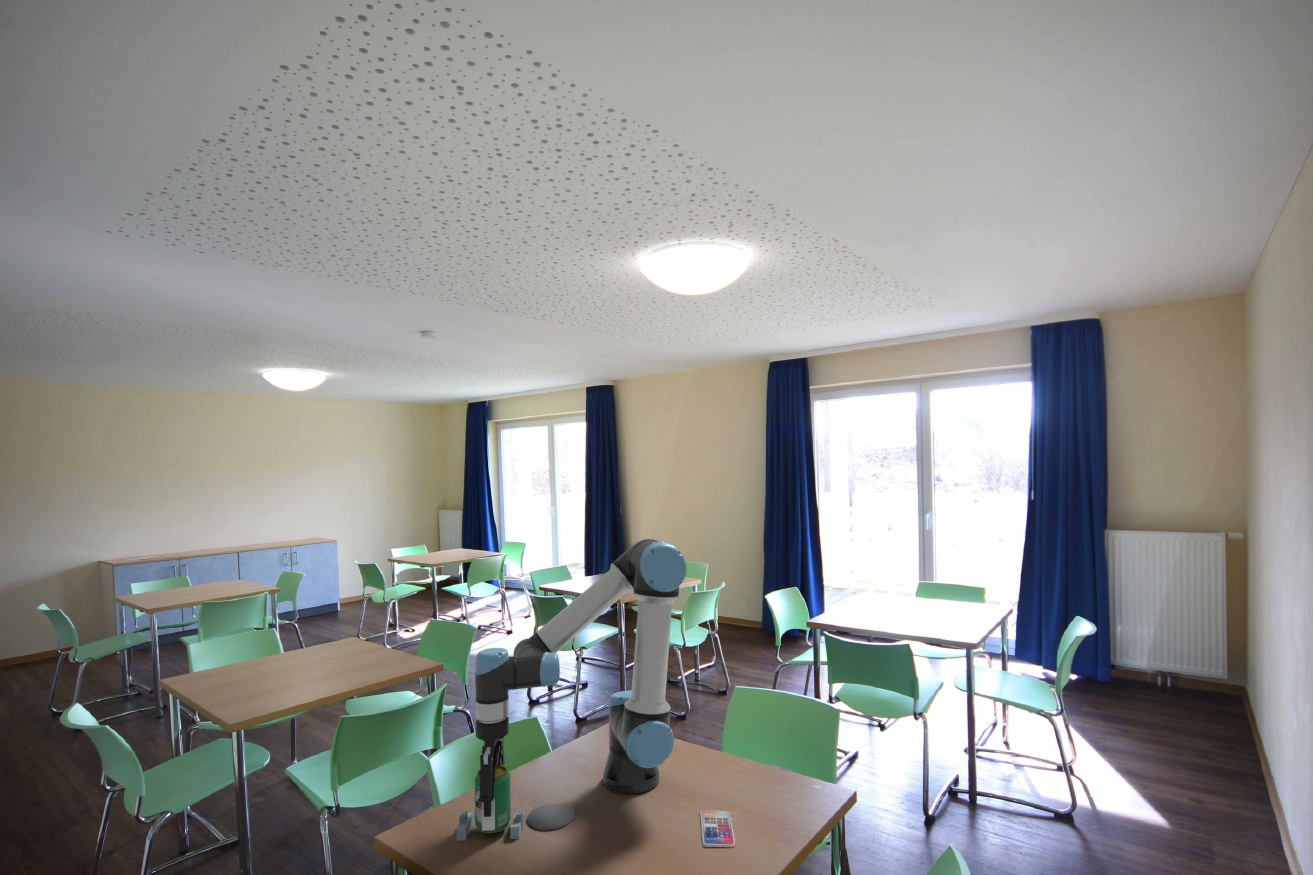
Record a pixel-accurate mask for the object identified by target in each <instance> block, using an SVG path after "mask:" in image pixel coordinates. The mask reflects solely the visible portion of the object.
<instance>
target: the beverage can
mask: <svg viewBox="0 0 1313 875" xmlns="http://www.w3.org/2000/svg"><path fill="white" fill-rule="evenodd" d="M479 795H480V769H479V770H477V774H476V776H475V778H474V824H475V826H476V828H477V831H479V832H480V833H482V834H494V833H498V832H501V831H503V830H505V829H506V828H507V827H508V826H509V824H510V821H511V818H512V816H511V814H512V813H511V811H512V810H511V809H512V808H511V800H512V799H511V773H510V772H509V769H508V766H504V765H498V766H496V769H495V782H494V796H493V797H494V798H495V829H494V830H485V831H482V802H478V799H479Z"/></svg>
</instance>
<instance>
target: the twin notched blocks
mask: <svg viewBox="0 0 1313 875" xmlns="http://www.w3.org/2000/svg"><path fill="white" fill-rule="evenodd" d="M525 811H526V810H524V809H523V808H522V809H517V811H515V813H514V816H513V819H512V821H511V824H510V826H509V827H510V828H509V833H510V834H509V839H510V840H514V839H515V840H517V839H520V837H521V835H522V831H523V828H524V824H525V822H526V819H525V818H526V816H525V815H526V813H525ZM474 824H475V812H469V811H468V810H463V811H461V813H460V815H459V823H458V825H457V826H456V827H457V828H456V841H466V840H467V838H468V835H469V834H470V832H471V829H472V828H473V826H474Z"/></svg>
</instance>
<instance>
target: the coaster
mask: <svg viewBox="0 0 1313 875" xmlns="http://www.w3.org/2000/svg"><path fill="white" fill-rule="evenodd" d="M574 818H575V811H574V810H573V808H572V807H570V806H568V805H566V804H560V803H550V804H544V805H540V806H538V807H536V808H534V809H532V810H531V811H530V812H529V813H528V815H527V824H528V825H529V827H531V828H533V829H535V830H538V831H546V832H548V831H554V830H559V829H562V828H565V827H567V826H569V825H570V824H572V822H573V821H574Z"/></svg>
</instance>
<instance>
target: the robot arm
mask: <svg viewBox="0 0 1313 875" xmlns="http://www.w3.org/2000/svg"><path fill="white" fill-rule="evenodd" d="M686 574H687V561H686V559H685V556H684V555H683V554H682V551H680V550H679V549H678V548H676V546H674V545H673V544H671V543H669V542H667V541H660V540H657V539H652V538H647V539H642V540H639V541H637V542H635V543H634V544H632V545H631V546H630V547H629V548H628V549H626V550H625V552H623V553H622V554H621V555H620V556H618V557H617V558H616V559H615V560H614V561H613V562H612V563H611V564H610V567H609V570H608V571H607V572H606V573H605V574H603V575H602V576H600V578H598V579H597V580H596V581H595V582H594V583H593V584H591V585H590V586H589V587H588V588H587V589H585V590H584V591H583V592H582V593H581V594H579V595H578V596H577V597H576V598H575V599H574V600H573V601H571V603H569V604H568V605H567V606H566V607H564V608H563V609H561V611H560V612H558V614H556V615H555V616H554V617H553V618H551V619H550V620H549V621H548V622H546V623H545V624H544V625H543V626H542V627H541V628H540V629H538V630H537V631H536V632H535V633H534V634H532V635H531V636H530V637H529V638H524V639H521V640H519V642H517V644H516V645H515V647H514V650H513V655H510V654H509V651H508V649H507V648H504V647H490V648H485V649H482V650H480V651H479V652H478V653H477V654H476V656H475V667H474V669H475V670H474V678H475V679H474V680H475V689H474V690H475V703H473V708H474V709H475V718H476V721H475V737H476V738H477V739H478V740H481V741H483V743H484V744H483V745H482V748H481V754H480V755H479V762H480V766H479V767H480V769H479V770H480V795H479V799H478V802H482V831H485V830H494V829H495V798H494V797H493V796H494V782H495V769H496V766H498V765H504V766H505V745H504V744H505V743H504V742H505V741H504V739H505V737H506V736H508V734H509V733H510V732H509V731H510V725H509V721H510V718H509V717H508V716H509V714H510V704H509V703H510V702H509V701H510V700H509V699H510V698H509V692H510V691H515V690H525V689H531V688H532V689H534V688H542V687H543V688H546V687H549V686H553V685H556V684H559V681H560V677H561V676H560V675H561V667H560V657H559V655H558V653H559V651H560V650H561V649H563V648H564V647H565V646H566V645H567V644H568V643H570V642H571V641H572V640H573V639H574V638H575V637H577V636H578V635H579V634H580V633H581V632H583V630H584V629H586V628H587V627H588V626H589V625H591V624H592V623H593V622H594V621H595V620H597V618H599V617H600V616H601V615H602V614H603V613H605V611H607V610H608V609H609V608H610V607H612V605H614V604H615V603H616V602H617V601H618V600H620V599H621V598H622V597H623V596H624V595H625V594H626V593H629V592H630V593H631V592H632V593H633V595H634V596H635V597H636V598H637V600H638V604H637V605H638V607H637V620H636V631H635V643H634V654H633V656H634V657H633V658H634V659H633V667H632V681H631V682H632V683H631V690H630V689H629V690H623V691H617V692H615V693H613V694H610V696H609V699H608V727H609V728H608V730H609V731H608V732H609V733H608V735H609V736H608V739H609V740H608V741H609V742H608V743H609V744H608V745H609V746H608V747H609V750H608V751H609V752H608V755H607V759H606V762H605V765H604V769H603V773H602V783H603V785H604V787H605V788H606V789H607V790H609V791H612V792H615V793H618V794H625V795H629V794H630V795H631V794H641V793H645V792H649V791H651V790H652V789H654V788H655V787H657V786H658V785H659V783H660V769H659V766H660V765H662V764H663V763H664V762H665V761H666V760H667V759H669V757H670V755H671V754H672V752H673V750H674V746H675V738H674V737H675V736H674V733H673V729H672V728H671V726H670V718H671V705H670V704H669V702H667V700H666V692H667V691H666V690H667V678H668V676H667V675H668V663H669V653H670V651H669V650H670V638H671V624H672V623H671V622H672V609H673V603H674V602H675V601H677V599H678V598H679V593H680V586H681V585H682V584H683V582H684V580H685V579H686V576H687V575H686Z"/></svg>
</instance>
